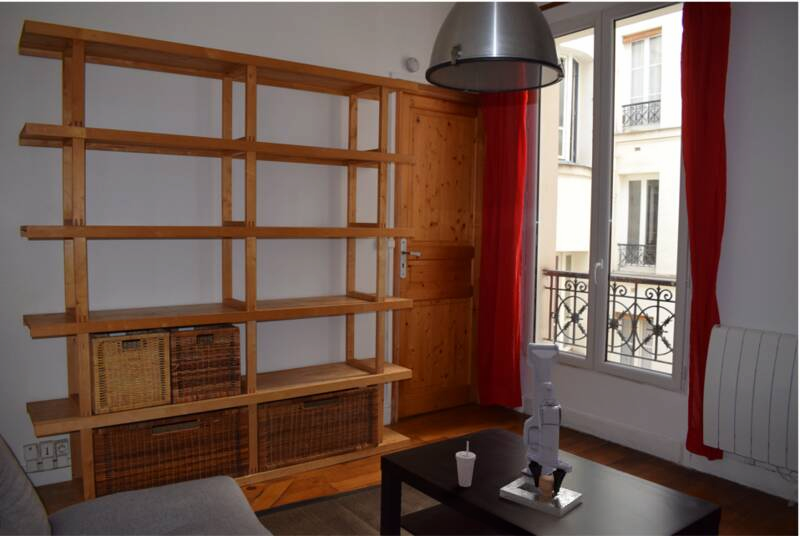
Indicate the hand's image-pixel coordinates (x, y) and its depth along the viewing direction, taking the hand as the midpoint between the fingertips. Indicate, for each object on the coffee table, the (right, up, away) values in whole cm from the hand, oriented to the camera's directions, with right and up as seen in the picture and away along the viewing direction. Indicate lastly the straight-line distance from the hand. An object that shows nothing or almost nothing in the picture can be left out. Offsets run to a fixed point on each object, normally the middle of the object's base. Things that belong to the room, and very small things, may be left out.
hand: (547, 489), depth 191 cm
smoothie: (-23, -3, +11) cm, 26 cm away
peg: (0, -4, 0) cm, 4 cm away
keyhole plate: (-2, -4, +2) cm, 4 cm away
